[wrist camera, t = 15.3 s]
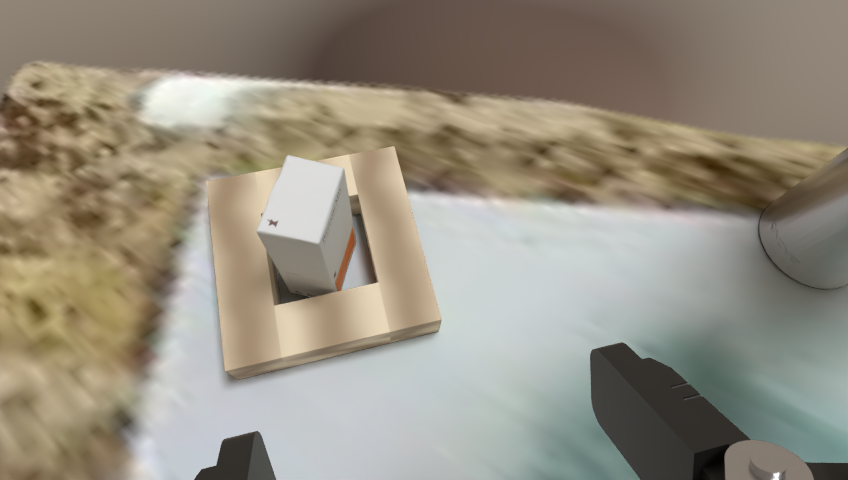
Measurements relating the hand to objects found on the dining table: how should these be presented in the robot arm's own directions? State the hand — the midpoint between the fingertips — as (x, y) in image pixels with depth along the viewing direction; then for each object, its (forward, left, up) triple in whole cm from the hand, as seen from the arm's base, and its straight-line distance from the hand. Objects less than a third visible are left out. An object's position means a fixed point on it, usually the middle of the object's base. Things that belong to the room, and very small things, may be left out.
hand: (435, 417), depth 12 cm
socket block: (+4, -17, -29) cm, 33 cm away
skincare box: (+4, -16, -29) cm, 33 cm away
